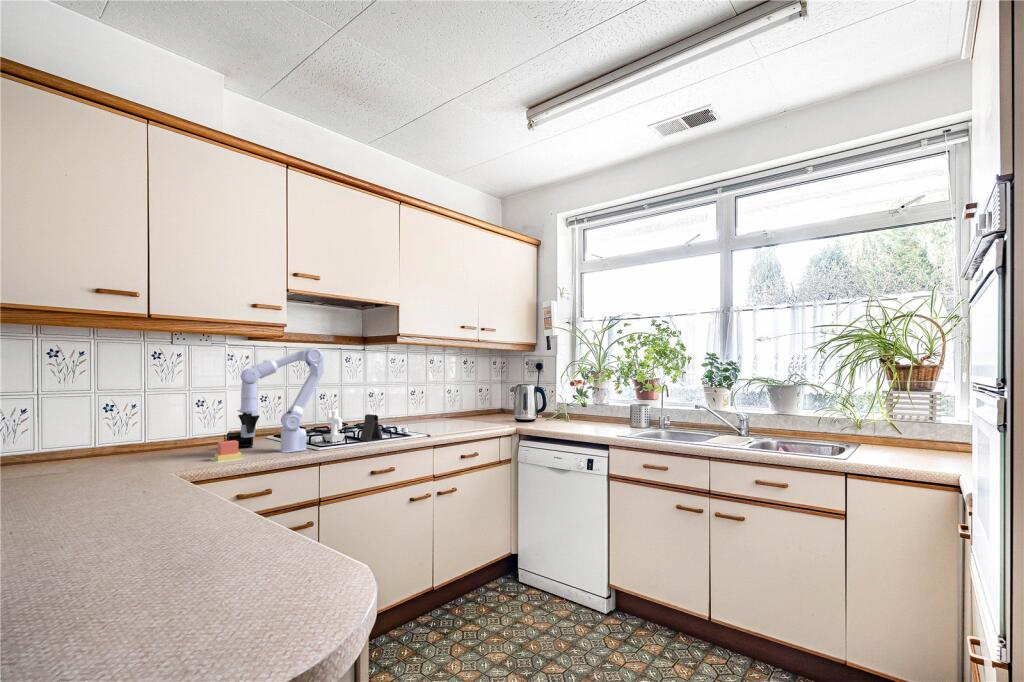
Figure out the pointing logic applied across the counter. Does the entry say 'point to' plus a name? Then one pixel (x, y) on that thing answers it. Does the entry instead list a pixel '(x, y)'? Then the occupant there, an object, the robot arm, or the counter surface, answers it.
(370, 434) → the phone stand
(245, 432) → the blue brick
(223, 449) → the red brick
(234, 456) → the mustard brick
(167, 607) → the counter surface
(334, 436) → the figurine
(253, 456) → the counter surface
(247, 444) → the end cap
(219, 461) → the baseplate
